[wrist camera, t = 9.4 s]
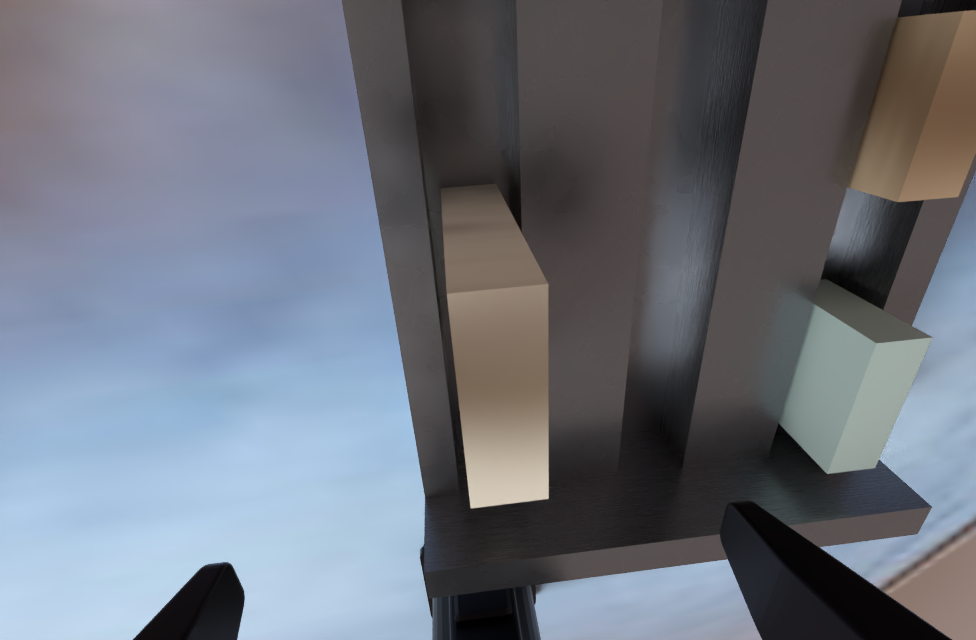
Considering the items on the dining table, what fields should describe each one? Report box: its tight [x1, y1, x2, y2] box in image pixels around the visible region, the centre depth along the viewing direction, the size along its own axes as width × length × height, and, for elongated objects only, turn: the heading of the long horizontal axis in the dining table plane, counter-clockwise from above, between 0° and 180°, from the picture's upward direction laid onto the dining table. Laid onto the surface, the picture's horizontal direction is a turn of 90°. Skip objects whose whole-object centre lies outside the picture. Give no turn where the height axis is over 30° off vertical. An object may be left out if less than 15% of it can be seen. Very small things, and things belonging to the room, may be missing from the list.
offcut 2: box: [778, 279, 933, 474], centre depth 20 cm, size 6×2×5 cm, turn 3°
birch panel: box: [440, 184, 549, 508], centre depth 15 cm, size 6×2×9 cm, turn 3°
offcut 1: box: [848, 10, 976, 202], centre depth 16 cm, size 5×2×4 cm, turn 3°
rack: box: [342, 0, 976, 599], centre depth 17 cm, size 22×20×7 cm
